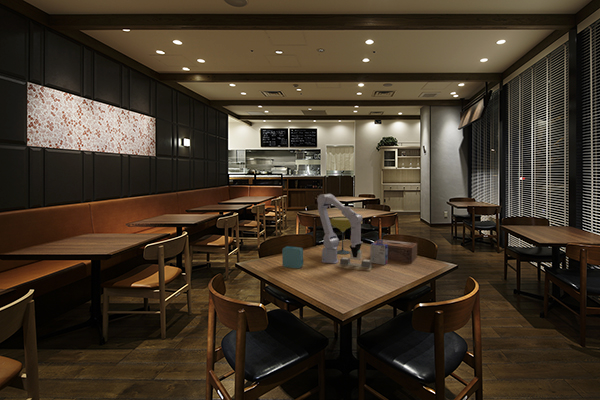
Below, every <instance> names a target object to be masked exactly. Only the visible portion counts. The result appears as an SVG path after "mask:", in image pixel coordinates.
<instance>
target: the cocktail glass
mask: <svg viewBox="0 0 600 400" xmlns="http://www.w3.org/2000/svg"><path fill="white" fill-rule="evenodd" d="M329 219H330V223H331V226H333V227H334V228H336V229H338V230H339V231H340V232H341V236H342V237H341V242H342V243H341V250H340V249H339V250H337V255H350V251H349V250H346V249H344V233H345V232H346V230H348V229H351V223H350V221H349V219H348V218H346V217H345V216H332V217H329Z"/></svg>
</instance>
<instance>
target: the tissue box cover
mask: <svg viewBox="0 0 600 400" xmlns="http://www.w3.org/2000/svg"><path fill="white" fill-rule="evenodd" d="M378 240H383V243H382V244H388V261H389V260H390V261H396V262H403V263H410V264H412V263H413V262H414V261H416V259H417V258H418V243H416V242H408V241H399V240H389V239H380V238H379V239H378ZM378 242H381V241H378ZM373 243H377V240H376V241H374V242H373Z"/></svg>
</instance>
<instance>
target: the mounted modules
mask: <svg viewBox="0 0 600 400" xmlns="http://www.w3.org/2000/svg"><path fill="white" fill-rule="evenodd" d="M360 261H361V263H360V264H361V266H362V267H370V266H371V265H372V263H371V260H370V259H364V258H363V259H361V260H360ZM349 263H351V259H350V257H345V256H342V257H341V258H340V259H339V264H343V265H349Z"/></svg>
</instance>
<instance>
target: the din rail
mask: <svg viewBox="0 0 600 400" xmlns="http://www.w3.org/2000/svg"><path fill="white" fill-rule="evenodd" d="M339 265H343V264H340V263H339ZM339 265H338V266H339ZM372 265H373V264H371V266H370V267H362V266H361V263H355V262H350V263H349V265H344V266H353V267H362V268H371V267H372ZM372 268H373V267H372Z"/></svg>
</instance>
